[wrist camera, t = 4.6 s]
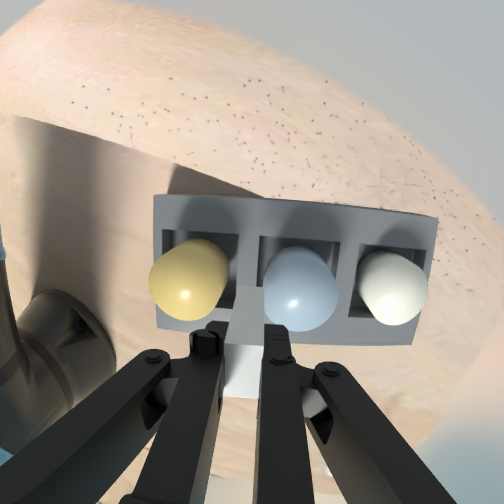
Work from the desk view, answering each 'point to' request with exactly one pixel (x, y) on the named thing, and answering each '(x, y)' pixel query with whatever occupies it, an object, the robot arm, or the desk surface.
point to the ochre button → (189, 279)
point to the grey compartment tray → (296, 234)
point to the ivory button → (391, 287)
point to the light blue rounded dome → (299, 289)
